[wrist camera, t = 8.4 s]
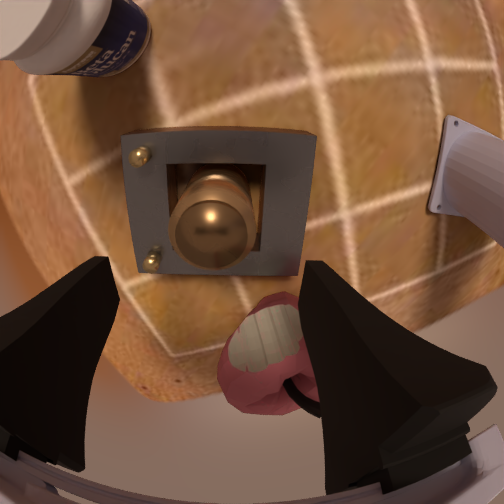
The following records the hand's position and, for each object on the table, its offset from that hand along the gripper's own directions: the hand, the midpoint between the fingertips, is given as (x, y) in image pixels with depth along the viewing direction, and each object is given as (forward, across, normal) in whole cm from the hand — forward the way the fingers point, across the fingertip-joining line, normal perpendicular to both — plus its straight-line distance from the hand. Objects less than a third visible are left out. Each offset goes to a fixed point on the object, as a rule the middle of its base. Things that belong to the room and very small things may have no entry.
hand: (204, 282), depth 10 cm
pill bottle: (+9, +7, -11) cm, 16 cm away
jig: (+9, 0, 0) cm, 9 cm away
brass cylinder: (+9, 0, 0) cm, 9 cm away
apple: (+10, -5, +10) cm, 15 cm away
